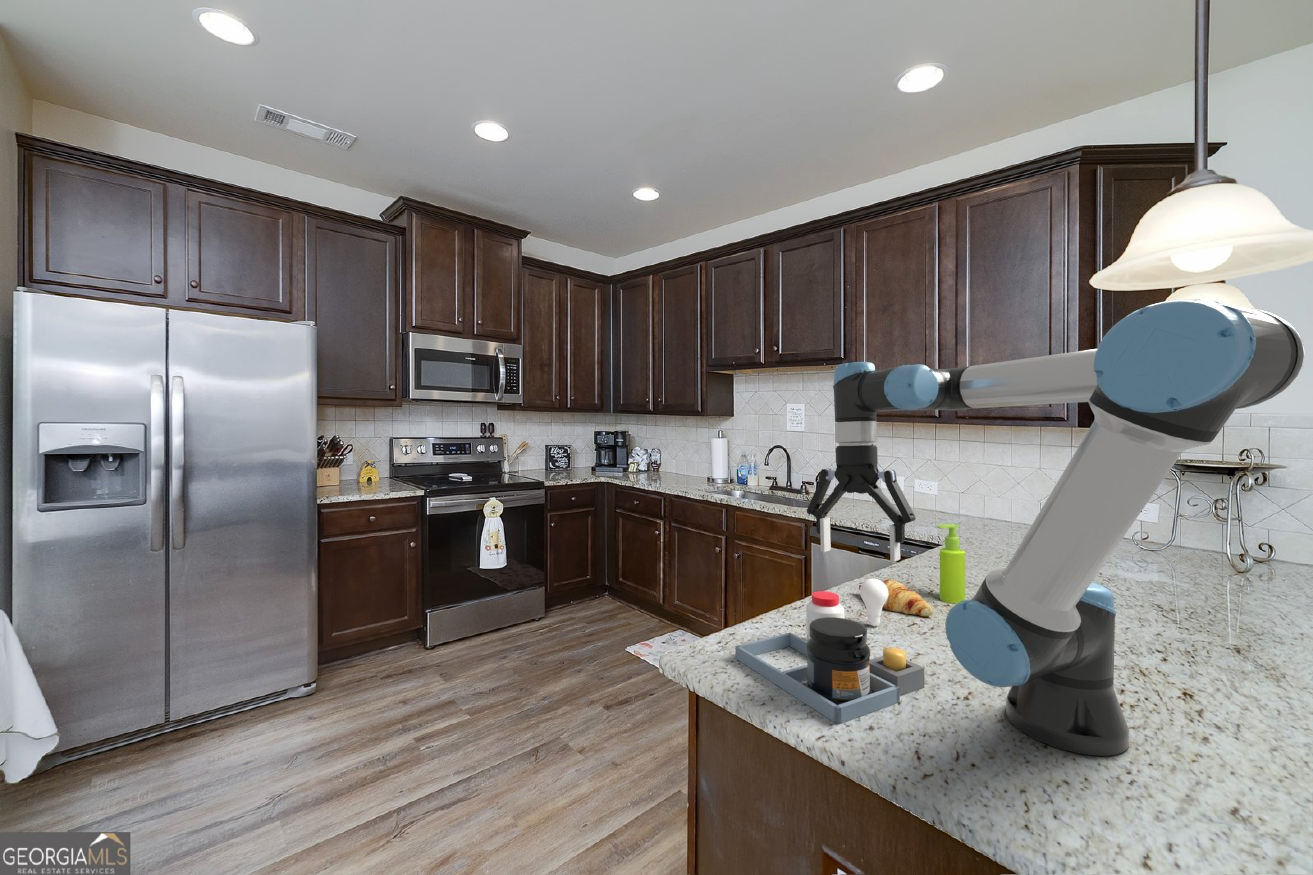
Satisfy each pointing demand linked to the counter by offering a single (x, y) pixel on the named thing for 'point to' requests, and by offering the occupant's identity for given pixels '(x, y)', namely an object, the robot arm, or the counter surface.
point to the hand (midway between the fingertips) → (859, 555)
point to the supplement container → (838, 659)
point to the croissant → (905, 600)
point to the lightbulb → (874, 599)
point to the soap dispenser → (952, 567)
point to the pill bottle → (823, 608)
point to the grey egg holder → (900, 675)
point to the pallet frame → (793, 678)
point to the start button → (894, 659)
